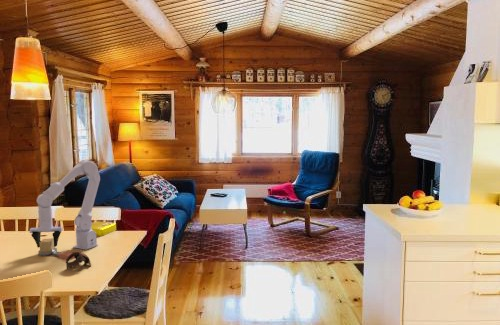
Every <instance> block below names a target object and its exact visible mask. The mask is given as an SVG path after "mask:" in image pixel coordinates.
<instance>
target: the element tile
mask: <svg viewBox="0 0 500 325" xmlns="http://www.w3.org/2000/svg"><path fill="white" fill-rule="evenodd" d="M91 229H92V230H93V231H95V232H96V237H103V236H105V235H108V234H111V233H113V232H115V231H117V223H116V222H108V221H98V220H96V221H93V222H92V226H91ZM110 232H111V233H110Z"/></svg>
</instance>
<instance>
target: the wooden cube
mask: <svg viewBox="0 0 500 325" xmlns="http://www.w3.org/2000/svg"><path fill="white" fill-rule="evenodd" d="M39 243H40V247H39V250H40V252H51V251H52V250H54V249H55V248H56V247H54V239H53V237H52V238H43V239H42V240H41V239H40V242H39Z"/></svg>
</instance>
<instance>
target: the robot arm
mask: <svg viewBox="0 0 500 325" xmlns="http://www.w3.org/2000/svg"><path fill="white" fill-rule="evenodd" d="M81 175H85V176H86V177H87V179H88V182H87V186H86V190H85V194H84V197H83V201H82V204H81V207H80V208H81V209H80V210H79V211H78V214H77V216H76V217H75V218H74V225H75V226H76V228H75V238H76V241H75V242H76V245H73V246H72V248H73V249H74V248H75V249H81V250H90V249H92V248H94V247H97V246H99V244H98V242H97V236H96V232H95V231H93V230H92V229H91V226H92V223H93V222H92V218H93V213H92V212H93V207H94V204H95V201H96V200H95V199H96V196H97V192H98V188H99V185H100V181H101V176H100V172H99V168H98V165H97V164H96V163H95V162H94V161H91V160H88V159H82V160H81V161H79V163H76V164H75V165H74V167H72V168H71V169H70V170H69V172H67V173H66V174H65V175H64V176H63V178H61V179H60V180H59V181H58V182H57V181H55V182H54V183H52V182H51V183H50V185H49V187H48V188H47V189H46V190H45V191H44V190H43V192H42V194H39V195H38V196H37V198H36V203H37V206H38V207H37V210H38V211H37V212H38V225H39V226H38V227H31V228H29V233H30V234H31V235H30V236H31V238H32V239H33V240H34V241H35V245H36V247H37V248H40V243H39V242H40V241H41V233H51V232H53V233H52V234H51V235H52V238H53V239H54V247H55V248H57V246H58V241H59V238H60V235H61V233H62V232H63V229H64V228H63V226H54V225H53V212H52V211H53V210H52V205H53V202H54V200H55V199H57V198H58V197H59V196H60V195H61V194H62V193H63V192H64V191H65V187H66V186H68V184H69V183H70V182H71V181H73V180H74V179H75V178H76V177H77V176H81Z"/></svg>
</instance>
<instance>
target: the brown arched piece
mask: <svg viewBox="0 0 500 325" xmlns="http://www.w3.org/2000/svg"><path fill="white" fill-rule="evenodd" d="M71 253H72V254H70V255H69V256H68V257H67V258H66V259H65V262H64V263H65V266H66V269H67V270H69V269H73V268H75V267H77V266H81V265H80V264H81V263H83V262H84V263H83V264H84V265H89V267H90V268H92V264H91V260H90V258H89V256H88V255H87V254H86V253H83V252H82V251H80V250H76V251H74V252H71ZM73 256H74V259H73V261H70V259H71V258H72V257H73ZM71 260H72V259H71ZM69 261H70V262H69Z"/></svg>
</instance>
